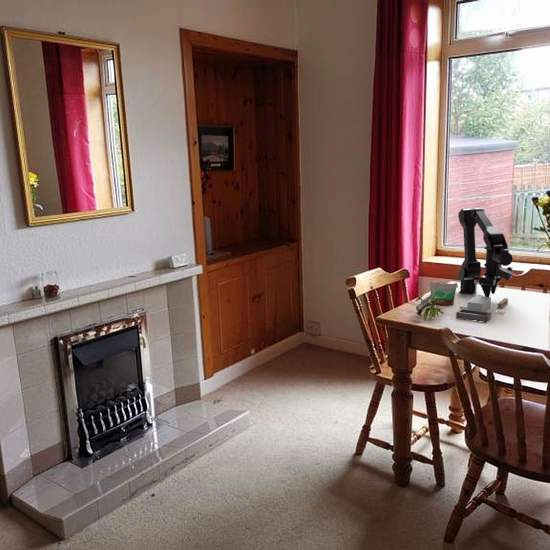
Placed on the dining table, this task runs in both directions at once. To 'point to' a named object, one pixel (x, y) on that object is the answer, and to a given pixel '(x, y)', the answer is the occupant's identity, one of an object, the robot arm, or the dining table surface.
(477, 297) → the block
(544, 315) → the dining table surface
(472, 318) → the tray
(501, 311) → the tiles
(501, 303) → the lane
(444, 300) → the food container
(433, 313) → the green spiky leafy piece
